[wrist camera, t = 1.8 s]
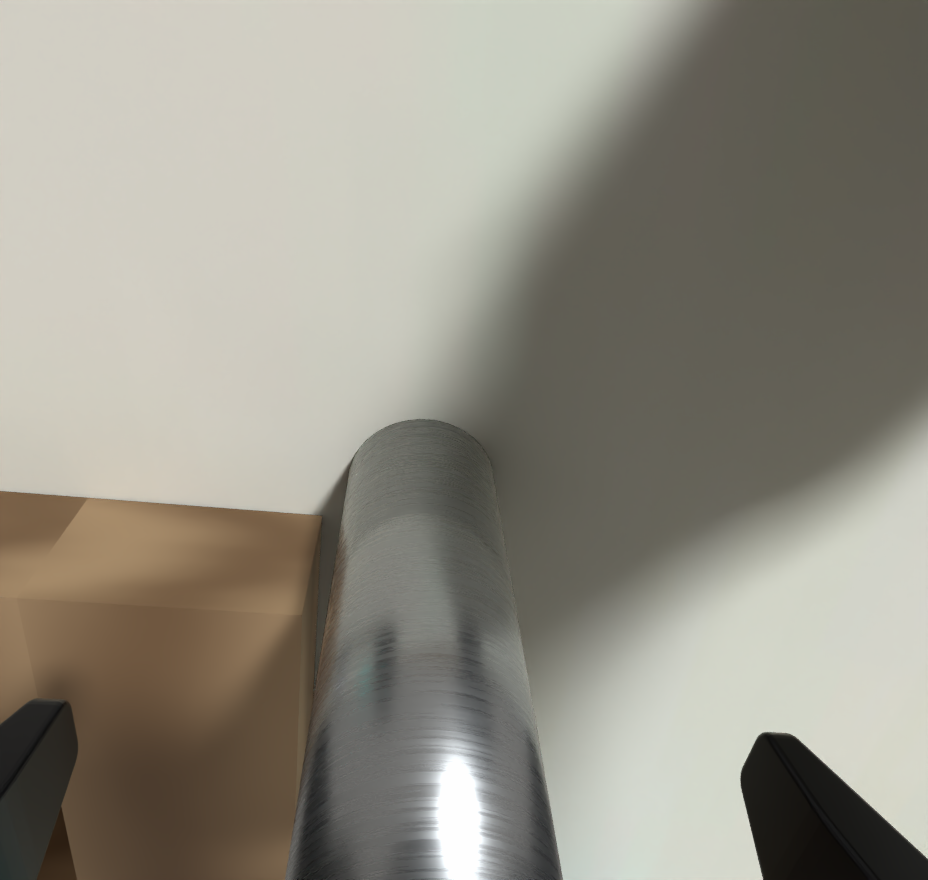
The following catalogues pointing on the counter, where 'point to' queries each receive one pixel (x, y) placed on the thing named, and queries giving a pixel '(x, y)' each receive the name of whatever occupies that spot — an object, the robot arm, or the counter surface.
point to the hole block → (165, 678)
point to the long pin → (422, 682)
